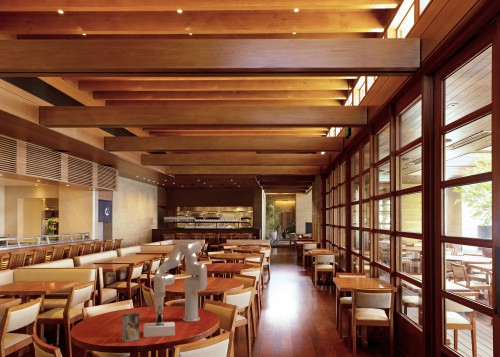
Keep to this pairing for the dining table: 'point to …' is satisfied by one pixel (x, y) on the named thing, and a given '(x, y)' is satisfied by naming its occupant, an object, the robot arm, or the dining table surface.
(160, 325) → the marker peg
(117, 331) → the dining table surface
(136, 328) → the coffee box
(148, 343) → the dining table surface
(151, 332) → the socket block
